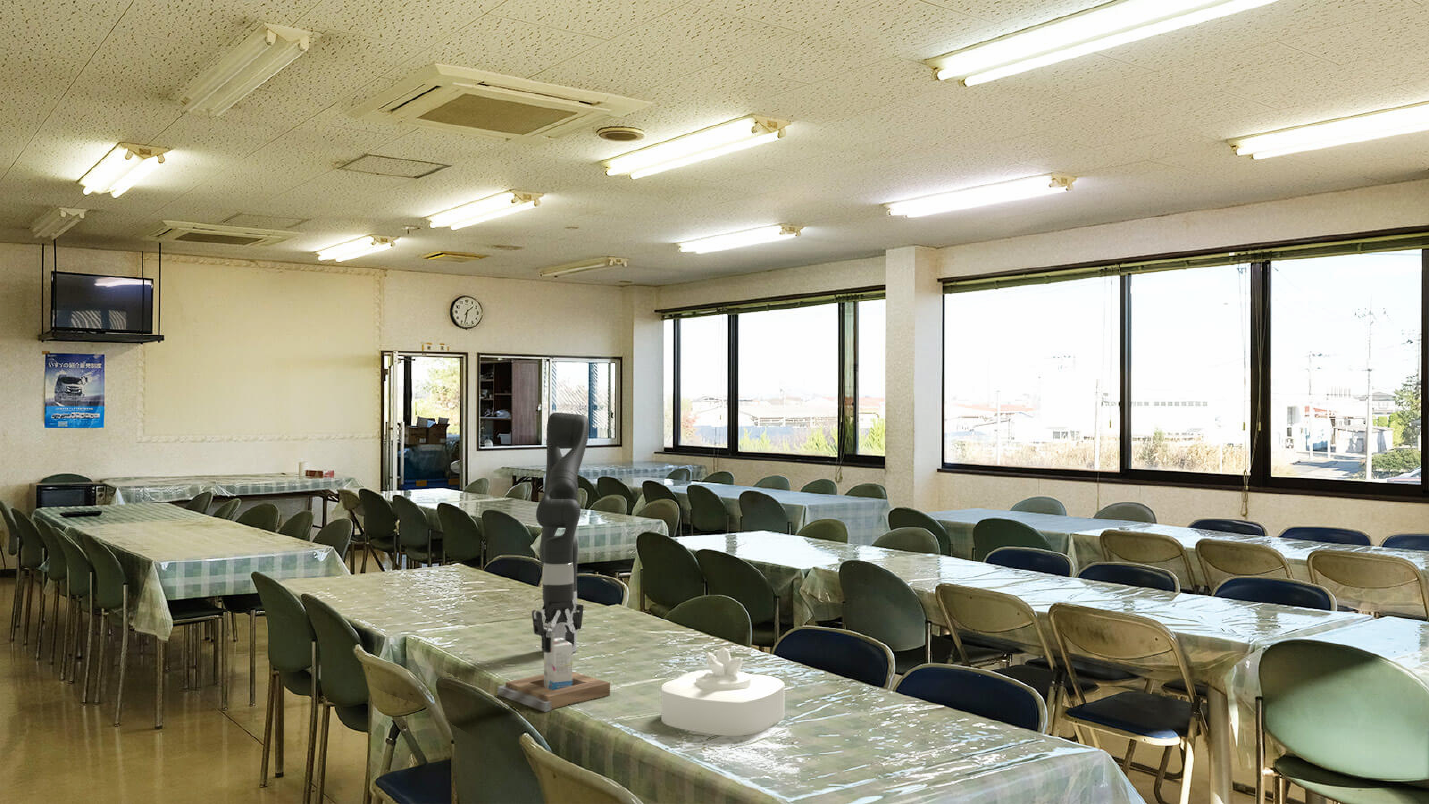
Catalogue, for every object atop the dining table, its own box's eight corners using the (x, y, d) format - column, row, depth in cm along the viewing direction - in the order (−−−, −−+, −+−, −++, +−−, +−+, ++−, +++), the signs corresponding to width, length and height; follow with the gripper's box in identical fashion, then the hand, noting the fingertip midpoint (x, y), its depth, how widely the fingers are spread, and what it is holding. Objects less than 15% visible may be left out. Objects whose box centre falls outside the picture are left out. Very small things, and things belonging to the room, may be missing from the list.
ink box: (573, 692, 251) (573, 631, 251) (553, 695, 249) (553, 633, 249) (562, 684, 258) (562, 624, 259) (543, 686, 256) (543, 626, 256)
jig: (497, 694, 253) (497, 682, 253) (563, 680, 267) (563, 669, 267) (545, 711, 239) (545, 698, 239) (612, 696, 252) (612, 683, 253)
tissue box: (746, 741, 218) (746, 664, 219) (646, 723, 231) (646, 650, 231) (797, 712, 240) (797, 642, 240) (703, 697, 253) (703, 630, 253)
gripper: (573, 576, 262) (572, 643, 261) (524, 582, 252) (524, 652, 251) (591, 579, 256) (591, 648, 256) (542, 586, 246) (542, 657, 246)
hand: (557, 649), depth 254 cm, fingers closed on ink box, 6 cm apart
